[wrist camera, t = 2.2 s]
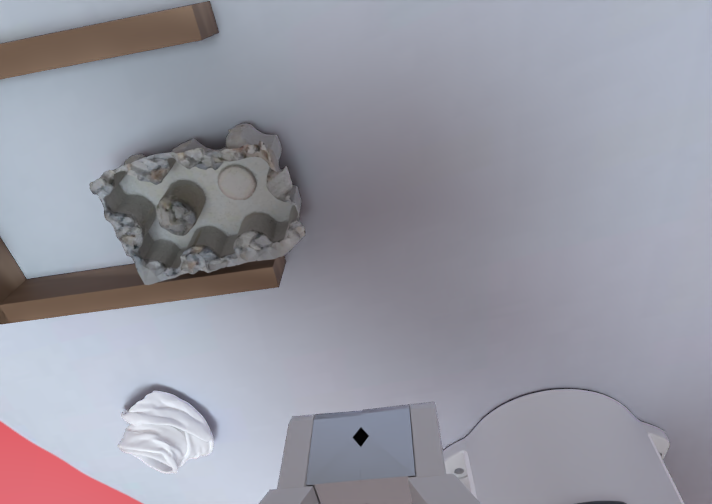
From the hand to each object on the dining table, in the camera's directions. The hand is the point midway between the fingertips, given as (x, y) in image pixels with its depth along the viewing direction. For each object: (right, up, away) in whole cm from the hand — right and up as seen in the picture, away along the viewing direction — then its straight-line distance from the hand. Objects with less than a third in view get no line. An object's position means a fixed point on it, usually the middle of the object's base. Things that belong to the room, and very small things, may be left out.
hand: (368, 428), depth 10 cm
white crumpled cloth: (-16, -10, +32) cm, 37 cm away
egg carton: (-11, +10, +20) cm, 25 cm away
